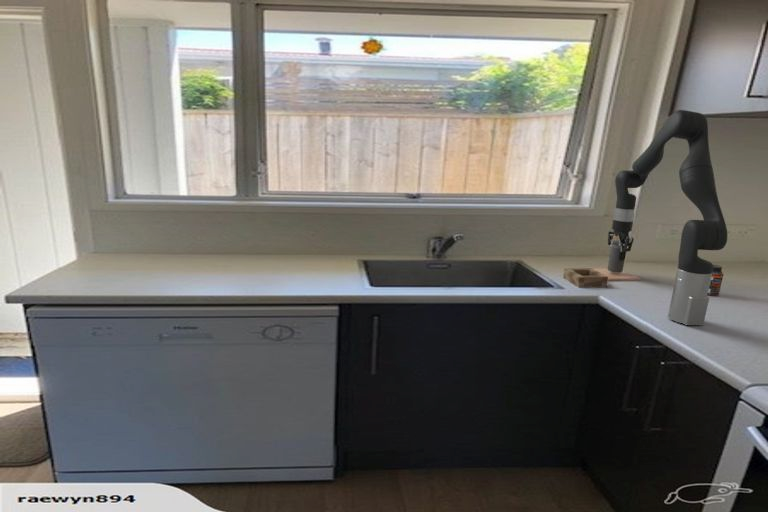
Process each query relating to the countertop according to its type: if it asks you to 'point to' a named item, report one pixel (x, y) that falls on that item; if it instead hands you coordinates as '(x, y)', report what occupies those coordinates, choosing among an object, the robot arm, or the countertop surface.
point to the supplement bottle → (715, 281)
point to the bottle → (615, 257)
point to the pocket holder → (585, 277)
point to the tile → (618, 275)
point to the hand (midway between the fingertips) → (617, 258)
